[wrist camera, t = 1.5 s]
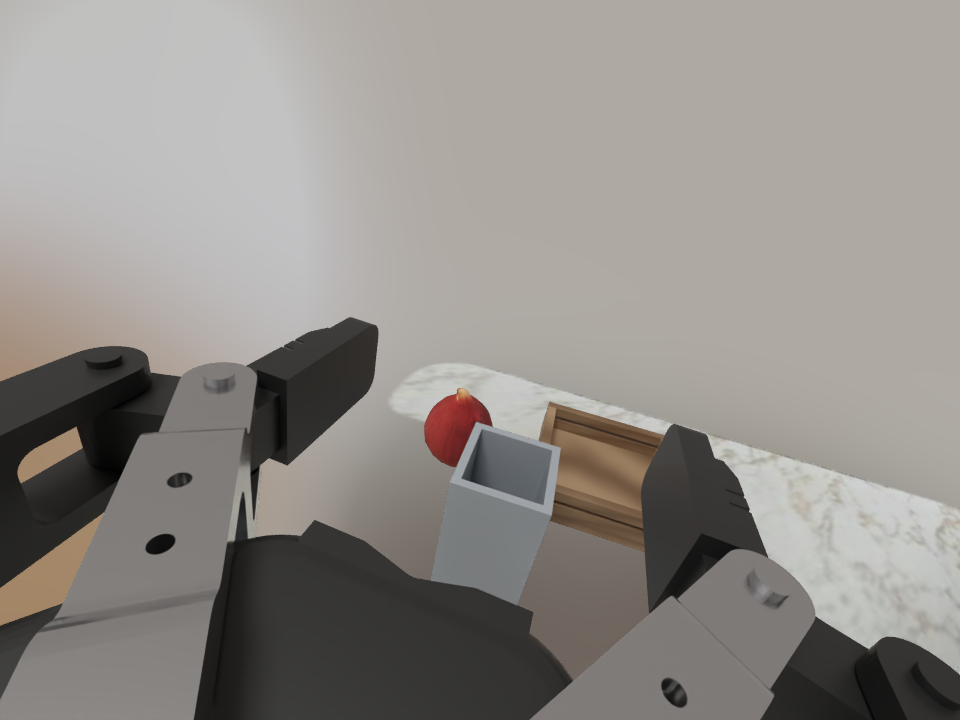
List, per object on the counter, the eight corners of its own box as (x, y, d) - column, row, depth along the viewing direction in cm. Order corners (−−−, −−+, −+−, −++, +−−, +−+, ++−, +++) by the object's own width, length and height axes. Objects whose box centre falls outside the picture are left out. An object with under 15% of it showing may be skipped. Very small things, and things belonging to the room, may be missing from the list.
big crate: (672, 561, 33) (690, 534, 31) (523, 511, 35) (532, 484, 33) (656, 460, 43) (668, 436, 42) (541, 426, 45) (549, 401, 43)
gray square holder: (511, 621, 27) (551, 515, 22) (428, 590, 28) (449, 482, 23) (525, 547, 32) (560, 447, 27) (454, 523, 33) (476, 421, 28)
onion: (478, 441, 41) (494, 372, 37) (490, 487, 36) (509, 413, 32) (418, 440, 40) (428, 368, 36) (421, 487, 35) (433, 411, 31)
